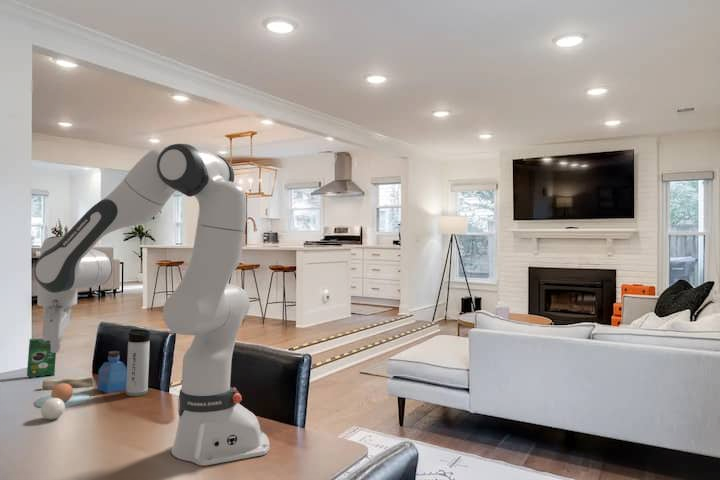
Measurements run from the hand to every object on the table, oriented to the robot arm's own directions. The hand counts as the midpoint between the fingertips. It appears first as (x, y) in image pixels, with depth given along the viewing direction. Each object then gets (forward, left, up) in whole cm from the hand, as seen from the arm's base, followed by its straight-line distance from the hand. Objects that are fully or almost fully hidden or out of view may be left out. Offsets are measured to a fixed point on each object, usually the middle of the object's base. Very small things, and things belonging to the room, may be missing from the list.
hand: (55, 351), depth 129 cm
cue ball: (+1, -5, -16) cm, 17 cm away
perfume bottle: (-10, -30, -19) cm, 38 cm away
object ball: (+2, -19, -16) cm, 25 cm away
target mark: (+2, -21, -19) cm, 29 cm away
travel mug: (-18, -24, -19) cm, 36 cm away
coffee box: (+15, -50, -19) cm, 56 cm away
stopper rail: (+4, -35, -19) cm, 40 cm away
